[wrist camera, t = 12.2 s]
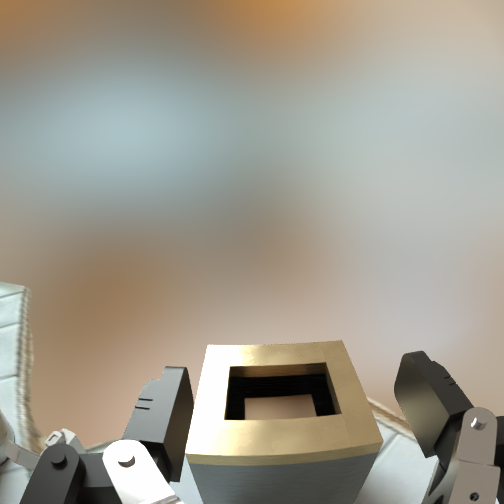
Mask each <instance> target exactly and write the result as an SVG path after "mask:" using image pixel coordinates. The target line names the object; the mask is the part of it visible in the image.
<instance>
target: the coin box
mask: <svg viewBox="0 0 504 504" xmlns="http://www.w3.org/2000/svg"><path fill="white" fill-rule="evenodd" d="M307 394H311V396H312V400H313V404H314V408H315V412H316V416H317V417H309V418H296V419H279V420H245V398H268V397H283V396H296V395H307ZM382 444H383V438H382V436H381V433H380V431H379V428H378V426H377V423H376V421H375V418H374V416H373V413H372V411H371V408H370V406H369V403H368V401H367V398H366V396H365V393H364V391H363V388H362V386H361V384H360V381H359V379H358V377H357V374H356V372H355V369H354V367H353V365H352V363H351V360H350V357H349V355H348V353H347V351H346V348H345V346H344V344H343V342H342V340H340V341H328V342H313V343H297V344H275V345H274V344H273V345H224V346H223V345H208V349H207V353H206V358H205V362H204V367H203V372H202V376H201V380H200V385H199V390H198V394H197V399H196V403H195V408H194V413H193V418H192V422H191V427H190V432H189V437H188V441H187V446H186V451H185V454H186V457H187V460H188V463H189V466H190V469H191V471H192V474H193V477H194V480H195V482H196V485H197V488H198V490H199V493H200V496H201V498H202V501H203V503H204V504H353V502H354V501H355V499H356V497H357V495H358V493H359V491H360V490H361V488H362V486H363V484H364V482H365V480H366V478H367V476H368V474H369V472H370V470H371V468H372V466H373V464H374V462H375V459H376V457H377V455H378V453H379V451H380V448H381V446H382Z"/></svg>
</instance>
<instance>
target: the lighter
mask: <svg viewBox="0 0 504 504" xmlns="http://www.w3.org/2000/svg"><path fill="white" fill-rule="evenodd" d="M44 443H45V444H46V446H47V447H49V446H51V445H53V444H57V443H64V444H68V445H70V446H72V447H73V448H75V450H76V451H77V452H78V454H87V452H86V451H85V449H84V447H83V446H82V444H81V443H80V441H79V439H78V438H77V436H76V434H75V433H73V432H71V431H69V430H66V429H65V428H64V429H62V430H61V431H54V432H53V433H52V434H51V435H50V436H49V437H48V438H47V439H46V440H45V442H44ZM47 447H46V448H47ZM46 448H45V449H46ZM45 449H44V450H45ZM42 453H43V452H42ZM42 453H41V455H42ZM4 454H5V455H6V456H7V457H9V458H10V459H11V460H12V461H13V462H15V463H17V464H19V465H22V466H24V467H27V468H29V469H32V470H34V469H35V467H36V465H37V463H38V461H39V459H40V457H41V456H40V455H38V454H36V453H34V452H32V451H29V450H27V449H25V448H23V447H21V446H19V445H17V444H15V443H13V442H11V441H8V444H7V447H6V450H5V453H4Z"/></svg>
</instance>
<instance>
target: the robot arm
mask: <svg viewBox="0 0 504 504" xmlns="http://www.w3.org/2000/svg"><path fill="white" fill-rule="evenodd" d="M394 393H395V397H396V400H397V401H398V403H399V406H400V407H401V409H402V411H403V413H404V415H405V417H406V419H407V421H408V423H409V425H410V427H411V429H412V431H413V433H414V435H415V437H416V439H417V441H418V443H419V445H420V447H421V450H422V452H423V454H424V456H425V458H428V457H431V456H434V455H437V457H438V458H439V459H438V461H437V462H436V464H435V467H434V471H433V474H432V477H431V480H430V482H429V485H428V488H427V491H426V494H425V496H424V499H423V501H422V503H421V504H495V501H496V497H497V499H498V502H499V504H504V416H499V417H495V415H494V414H493V413H492V412H491V411H489V410H487V409H485V408H480V407H475V408H474V406H473V405H472V404H471V402H470V401H469V399H468V398H467V397H466V395H465V394H464V393H463V391H462V390H461V389H460V387H459V386H458V385H457V384H456V382H455V381H454V380H453V378H451V376H450V374H449V373H448V372H447V370H446V369H445V368H444V367H443V366H441V365H440V364H438V363H437V362H435V361H431V360H430V359H429V357H428V356H427V355H426V353H425V352H424V351H417V352H411V353H406V354H404V355H403V357H402V359H401V363H400V367H399V371H398V374H397V377H396V381H395V385H394ZM193 409H194V401H193V394H192V390H191V384H190V379H189V374H188V370H187V368H186V367H170V366H167V367H165V369H164V371H163V374H162V376H161V379H160V380H158V379H152V380H151V381H149V382H148V383H147V384H146V385H145V386H144V387H143V388H142V391H141V393H140V396H139V400H138V401H137V403H136V405H135V409H134V410H133V413H132V415H131V418H130V420H129V423H128V425H127V427H126V430H125V432H124V435H123V437H122V439H121V441H118V442H115V443H113V444H112V445H110V446H109V447H108V448H107V449H106V451H105V452H103V453H91V454H78V452H77V451H76V450H75V448H73V447H72V446H70V445H68V444H64V443H57V444H53V445H51V446H49V447H47V448H46V449H45V450H44V451H43V453H42V455H41V457H40V459H39V461H38V463H37V465H36V467H35V469H34V472H33V474H32V476H31V478H30V480H29V483H28V485H27V487H26V490H25V492H24V494H23V496H22V499H21V501H20V504H183V502H182V501H181V500H180V499H179V497H177V496H176V495H175V494H174V492H173V491H172V489H171V488H170V486H169V483H170V481H172V482H180V477H181V472H182V466H183V461H184V456H185V451H186V446H187V441H188V436H189V431H190V426H191V421H192V416H193ZM8 441H11V442H13V443H14V432H13V429H12V427H11V425H10V424H9V422H8V421H7V419H6V418H5V416H4V415H3V413H2V411H1V410H0V464H2V463H3V462H4V461H5V460H6V459H7V456H6V455H5V454H4V453H5V450H6V447H7V444H8Z"/></svg>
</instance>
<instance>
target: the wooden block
mask: <svg viewBox="0 0 504 504" xmlns="http://www.w3.org/2000/svg"><path fill="white" fill-rule="evenodd" d="M309 417H317V416H316V412H315V408H314V404H313V400H312V396H311V394H307V395H296V396H283V397H268V398H245V420H279V419H296V418H309Z"/></svg>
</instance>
